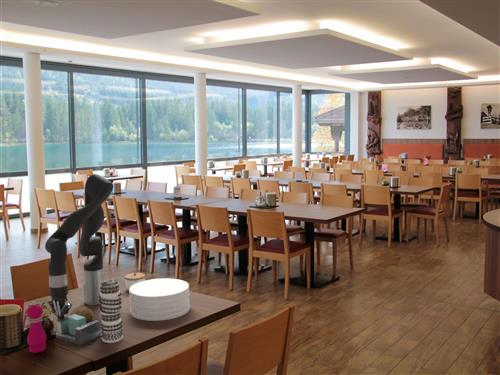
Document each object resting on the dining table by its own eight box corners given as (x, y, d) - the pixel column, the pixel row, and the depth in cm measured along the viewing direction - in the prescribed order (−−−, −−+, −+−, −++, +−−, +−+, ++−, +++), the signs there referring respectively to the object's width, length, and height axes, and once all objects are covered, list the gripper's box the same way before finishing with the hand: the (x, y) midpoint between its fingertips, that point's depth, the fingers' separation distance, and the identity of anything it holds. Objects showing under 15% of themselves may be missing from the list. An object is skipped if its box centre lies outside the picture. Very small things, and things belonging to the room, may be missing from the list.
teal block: (69, 333, 231) (68, 317, 231) (76, 330, 235) (75, 314, 234) (78, 336, 228) (77, 320, 227) (86, 333, 232) (85, 317, 231)
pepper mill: (31, 346, 223) (27, 298, 220) (49, 345, 223) (46, 297, 221) (25, 353, 216) (21, 304, 213) (44, 352, 216) (40, 303, 214)
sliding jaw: (57, 332, 232) (56, 320, 231) (74, 325, 239) (74, 313, 238) (61, 334, 230) (60, 321, 230) (78, 327, 238) (78, 314, 237)
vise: (56, 337, 231) (55, 323, 230) (77, 329, 240) (76, 314, 239) (80, 345, 223) (79, 329, 222) (100, 335, 232) (99, 321, 231)
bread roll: (72, 331, 247) (72, 318, 243) (67, 316, 255) (68, 303, 251) (94, 327, 252) (95, 314, 248) (89, 312, 259) (90, 299, 255)
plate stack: (172, 296, 282) (171, 275, 280) (200, 311, 259) (199, 288, 258) (120, 308, 265) (119, 285, 264) (146, 325, 243) (145, 300, 241)
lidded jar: (129, 286, 300) (128, 269, 299) (148, 286, 299) (147, 269, 298) (122, 292, 289) (121, 275, 288) (142, 292, 288) (141, 275, 287)
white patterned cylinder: (112, 332, 235) (109, 276, 232) (128, 336, 230) (125, 279, 227) (96, 340, 227) (92, 281, 224) (112, 344, 223) (109, 285, 219)
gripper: (75, 284, 235) (78, 323, 237) (55, 280, 242) (58, 318, 244) (61, 288, 228) (64, 328, 230) (41, 284, 235) (44, 323, 237)
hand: (61, 323), depth 237 cm, fingers closed
